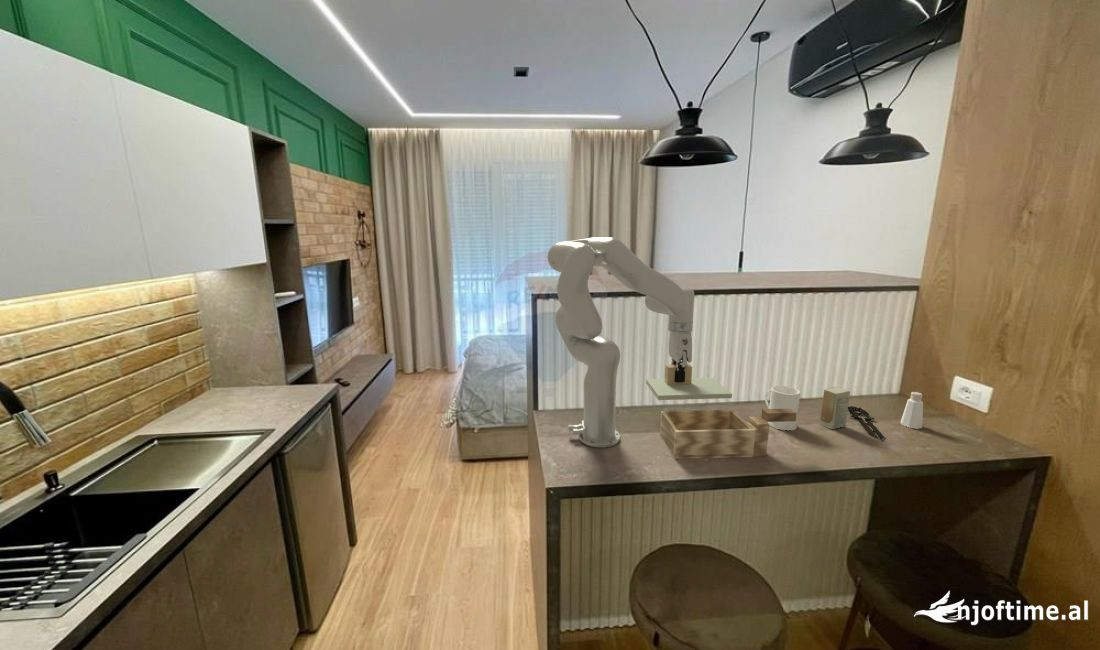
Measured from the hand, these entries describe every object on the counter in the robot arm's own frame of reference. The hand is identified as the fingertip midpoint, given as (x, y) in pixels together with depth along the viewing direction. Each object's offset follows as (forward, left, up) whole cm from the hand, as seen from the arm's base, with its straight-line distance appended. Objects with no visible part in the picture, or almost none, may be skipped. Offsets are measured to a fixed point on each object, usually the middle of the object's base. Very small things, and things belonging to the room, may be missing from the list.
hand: (677, 379), depth 139 cm
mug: (+32, -6, -14) cm, 35 cm away
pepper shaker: (+73, -10, -14) cm, 75 cm away
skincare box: (+48, -9, -14) cm, 51 cm away
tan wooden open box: (+4, -20, -13) cm, 24 cm away
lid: (+2, -3, -3) cm, 5 cm away
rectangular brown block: (+21, -24, -4) cm, 32 cm away
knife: (+60, -8, -14) cm, 62 cm away
